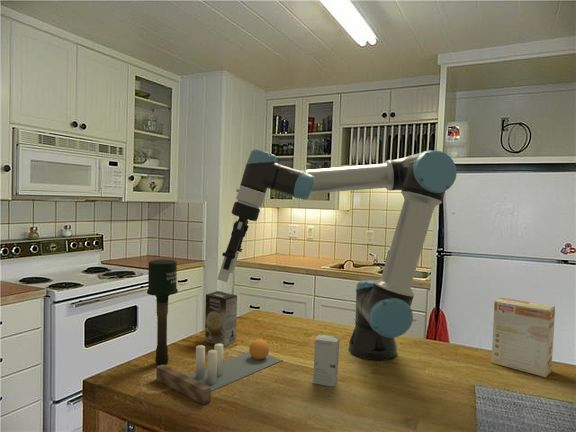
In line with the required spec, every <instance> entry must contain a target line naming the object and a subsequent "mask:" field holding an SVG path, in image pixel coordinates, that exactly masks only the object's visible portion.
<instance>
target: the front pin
mask: <svg viewBox="0 0 576 432" xmlns="http://www.w3.org/2000/svg"><path fill="white" fill-rule="evenodd" d="M213 350H216V351H217V377H219V376H222V375H223V361H224V346H223V344H214V349H213Z"/></svg>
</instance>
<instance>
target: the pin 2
mask: <svg viewBox="0 0 576 432" xmlns="http://www.w3.org/2000/svg"><path fill="white" fill-rule="evenodd" d="M207 367H208V384H211V385H212V384H216V383H217V351H216V350H214V349H210V350H208V351H207Z"/></svg>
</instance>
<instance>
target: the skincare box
mask: <svg viewBox="0 0 576 432" xmlns="http://www.w3.org/2000/svg"><path fill="white" fill-rule="evenodd" d="M340 340H341V338H340V337H338V336H332V335H324V334H318V335H317V336H316V337H315V340H314V354H313V355H314V357H313V374H312V376H313V377H312V384H316V385H321V386H327V387H332V388H333V387H335V385H336V384H337V382H338V375H339V355H340V342H341V341H340Z"/></svg>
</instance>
